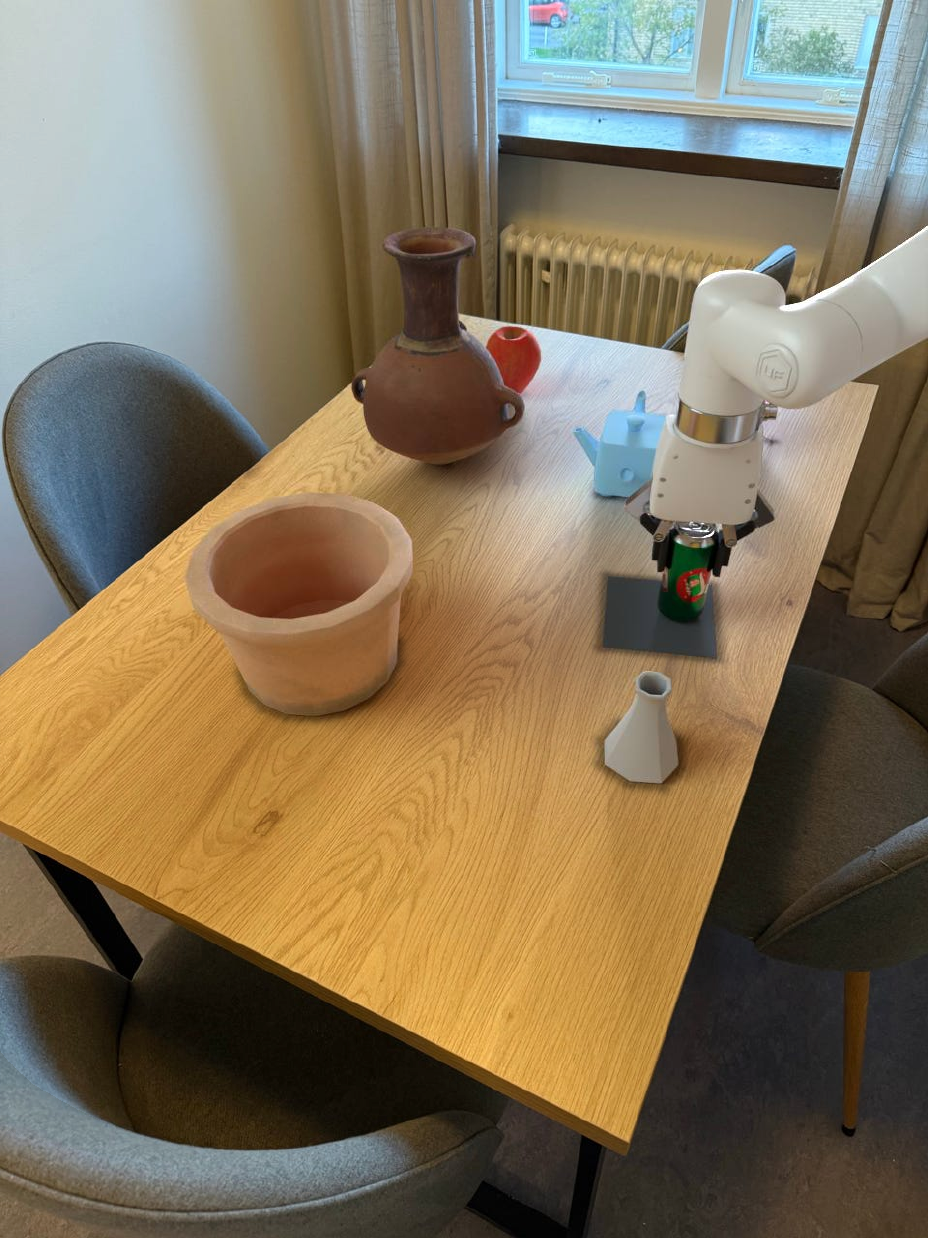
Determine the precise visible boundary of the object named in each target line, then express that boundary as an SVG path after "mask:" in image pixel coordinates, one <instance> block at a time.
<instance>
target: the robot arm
mask: <svg viewBox="0 0 928 1238" xmlns="http://www.w3.org/2000/svg"><path fill="white" fill-rule="evenodd" d="M786 300H787V299H786V292H785V290H784V288H783V285H781V283H780V282H779V281H778V280H777V279H775V278H773V277H772V276H770V275H767V274H765V273H761V272H758V271H753V270H744V269H732V270H723V271H718V272H715V273H712V274H710V275H708V276H707V277H705V278H703V279H702V280H701V282H700V283H698V285H697V287H696V288H695V291H694V293H693V297H692V302H691V308H690V315H689V320H688V328H687V334H686V341H685V348H684V354H683V361H682V365H681V366H682V367H681V372H680V373H681V374H680V379H679V386H678V393H677V398H676V399H677V400H676V406H675V412H674V413H671V414H670V415H668V416H667V417H666V421H665V424H664V426H663V429H662V432H661V435H660V438H659V441H658V445H657V449H656V454H655V458H654V463H653V468H652V473H651V479H650V480H649V481H648V482H647V483H645V484H644V485H643V486H642V487H640V488H639V489H638V490H637V491H636V492H634V493H633V494H632V495H631V496H630V497H626V499H625V500H624V511H625V512H626V513H627V514H629V515H630V516H631V517H632V518H633V519H635V520H637V521H638V522H639V524H640V525H641V526H642V527H643V528H644V529H645V530H646V531H647V532H648V533H649V534H650V536H652V539H653V542H652V548H651V561H655V562H656V569H657V570H656V572H657V573H661V574H662V571H664V570H665V564H666V558H667V552H668V546H669V536H668V535H669V530H670V528H671V527H672V525H673V524H674V522H675V521H683V522H696V523H711V524H716V525H721V529H719V530H718V534H719V539H718V544H717V548H716V553H715V558H714V562H713V567H712V571H711V575H712V576H714V578H720V577H721V574H722V569H723V567H728V566H729V562H730V558H731V554H732V550H733V548H735V547H736V546H737V545H738V542H739V541H741V540H742V539H744V538H746V537H747V536H749V535H751V534H753V533H754V532H755V530H756V529H760V528H762V527H764V526H766V525H768V524H771V523H772V522H774V521H775V519H776V516H775V511H774V508H773V506H772V505H771V503H769V501H768V500H767V499H766V497H765V496H764V495H763V493H762V491H761V490H760V489H759V483H760V478H761V469H762V463H763V462H762V461H763V451H764V450H763V448H764V426H763V422H767V421H768V420H769V421H776V419H777V418H778V417H777V416H778V412H779V411H778V409H779V408H781V409H784V410H785V409H786V410H801V409H805V408H809V407H811V406H813V405H816V404H817V403H819V402H821V401H823V400H824V399H826V398H827V397H829V396H831V395H832V394H833V393H835V392H837V391H838V390H840V389H842V388H843V387H844V386H846V385H847V384H849V383H851V382H852V381H854V380H855V379H857V378H859V377H860V376H862V375H864V374H865V373H867V372H869V371H871V370H872V369H875V368H876V367H877V366H879V365H880V364H883V363H884V362H886V361H888V360H889V359H891V358H893V357H895V356H897V355H898V354H900V353H902V352H904V351H905V350H907V349H909V348H911V347H914V346H915V345H917V344H918V343H920V342H923V341H924V340H926V339H928V225H927V226H926V227H924V228H923V229H922V230H921V231H919V232H917V233H916V234H915V235H913V236H911V237H910V238H909V239H907V240H906V241H904V242H903V243H902V244H900V245H898V246H897V247H896V248H894V249H892V250H891V251H889V252H888V253H886V254H885V255H884V256H882V257H880V258H879V259H877V260H876V261H874V262H872V263H871V264H869V265H868V266H866V267H865V268H863V269H861V270H860V271H858V272H856V273H855V274H853V275H852V276H850V277H849V278H846V279H845V280H843V281H841V282H840V283H838V284H836V285H834V286H832V287H830V288H828V289H825V290H822V291H821V292H820V293H817V294H816V295H814V296H812V297H810V298H808V299H806V300H804V301H802V302H797V303H793V304H787V305H786V302H787V301H786ZM765 400H766V401H767V402H769V403H771V404H773V405H769V403H765ZM647 503H649V507H646V504H647Z"/></svg>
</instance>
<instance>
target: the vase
mask: <svg viewBox="0 0 928 1238" xmlns="http://www.w3.org/2000/svg"><path fill="white" fill-rule="evenodd" d="M476 244H477V243H476V238H475V236H474V235H471V233H469V232H466V231H464V230H460V229H457V228H449V227H446V228H445V227H441V226H425V227H424V226H423V227H418V228H411V229H406V230H401V231H397V232H395V233H393V234H390V235H388V236H387V237H385V238H384V239H383V241H382V246H381V247H382V249H383V251H384V252H385V253H386V254H388V255H389V256H392V257H394V258H395V259H396V261H397V264H398V267H399V272H400V279H401V287H402V296H403V297H402V298H403V328H402V331H401V332H400V333H397V335H396V336H394V337H392V339H390V340H389V341H388V342H387V343H386V344H385V345H384V346H383V347H382V349H381V350H380V352H379V353H378V354H377V356H376V357H375V359H374V360H373V362H372V364H371V366H370V367H365V368H362V369H361V370H360V371H358V373H357V374H355V376H354V377H353V378H352V380H351V385H350V388H351V392H352V395H353V398H354V399H355V400H356V402H357V403H360V404H362V409H363V417H364V422H365V426H366V428H367V431H368V433H369V435H370V436H371V438H372V439H373V440H374V441H375V442H376V443H377V444H379V445H380V446H382V447H383V448H385V449H387V450H389V451H390V452H394V453H396V454H398V455H401V456H403V457H406V458H409V459H411V460H414V461H418V462H422V463H427V464H431V465H437V466H445V465H449V464H452V463H453V462H454V463H455V462H456V461H459V460H464V459H466V458H469V457H470V456H473V455H475V454H477V453H480V452H481V451H482V450H484V449H486V448H488V447H489V446H490V445H492V444H493V443H494V442H495V441H496V440H497V439H498V438H499V437H500V436H502V435H503V434H504V433H505V432H506V431H507V430H508V429H510V428H512V427H514V426H516V425H517V424H518V423H520V422H521V419H522V418H523V416H524V414H525V413H524V412H525V403H524V399H523V398H522V396H521V394H518V393H517V392H516V391H514V390H513V389H511V388H508V387H506V386H504V383H503V379H502V377H501V374H500V372H499V369H498V367H497V365H496V363H495V360H494V359H493V357H492V355H491V354H490V353H489V351H488V350H487V349H486V347H485V345H484V344H483V343H482V342H481V341H480V340H479V339H478V338H477V337H476V336H474V335H473V334H471V333H470V332H468V328H467V326H466V324H464V322H463V321H461V320H460V315H459V286H460V284H459V283H460V279H459V278H460V266H461V261H462V260H464V259H467V260H472V259H473V258H474V256H475V251H476ZM363 381H364V382H365V383H364V382H363ZM508 405H510V406H512V407H513V408H514V409H513V410H514V414H513V415H512V416H510V415H509V406H508Z"/></svg>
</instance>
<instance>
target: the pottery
mask: <svg viewBox="0 0 928 1238" xmlns="http://www.w3.org/2000/svg"><path fill="white" fill-rule="evenodd" d="M412 541H413V540H412V538H411V537H410V535H409V533H408V532H407V530H406V529H405V527H404V526H403V524H402V522H401V521H400V519H399V517H397V516H396V515H394V514H392V513H391V512H390V511H388V510H386V509H385V508H384V507H382V506H381V505H379V504H377V503H376V502H373V501H370V500H367V499H363V498H359V497H356V496H353V495H349V494H346V493H332V492H331V493H329V492H304V493H303V492H302V493H296V494H290V495H289V494H288V495H284V496H277V497H272V498H270V499H267V500H265V501H261V502H258V503H256V504H253V505H250V506H246V507H244V508H242V509H239V510H238V511H236V512H234V513H233V514H232V515H230V516H228V517H227V518H225V519H224V520H222V521H221V522H219V523H217V524H216V525H215V526H213V527H211V528H210V529H209V530H208V531H207V533H206V534H205V535H204V537H203V538H201V540H200V541H199V542H198V544H196V545H195V547H194V548H193V549H192V550H191V554H190V557H189V561H188V564H187V568H186V571H185V574H184V580H185V584H186V587H187V591H188V594H189V598H190V602H191V605H192V607H193V610H194V612H195V613H196V614H197V615H198V616H199V617H200V618H202V620H204V621H205V623H206V624H208V625H209V626H210V627H211V628H212V629H213V630H214V631H215V632H216V633H218V634H219V636H220V637H221V639H222V641H223V643H224V645H225V647H226V649H227V651H228V652H229V654H230V656H231V658H232V660H233V662H234V664H235V665H236V667H237V669H238V671H239V673H240V675H241V677H242V678H243V680H244V682H245V684H246V686H247V689H248V691H249V692H250V693H251V694H252V695H254V697H255V698H256V699H257V700H258V701H259V702H261V703H262V705H264V706H266V707H268V708H271V709H274V710H275V711H278V712H281V713H284V714H286V715H293V716H295V715H296V716H308V717H318V716H323V715H327V714H328V715H329V714H333V713H339V712H344V711H346V710H348V709H350V708H352V707H354V706H356V705H358V704H360V703H363V702H364V701H367V700H368V699H370V698H371V697H372V696H374V695H375V694H376V693H377V692H378V691H379V690H380V689H381V688H382V687H383V686H385V684H386V683H388V682H389V679H390V677H391V675H392V673H393V671H394V670H395V667H396V665H397V663H398V644H399V643H398V641H399V628H400V615H401V613H400V612H401V601H402V600H401V599H402V595H403V593H404V591H405V589H406V586H407V585H408V583H409V582H410V581H411V577H412V576H413V574H414V573H413V572H414V571H413V570H414V568H413V567H414V566H413V565H414V564H413V542H412Z"/></svg>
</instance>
